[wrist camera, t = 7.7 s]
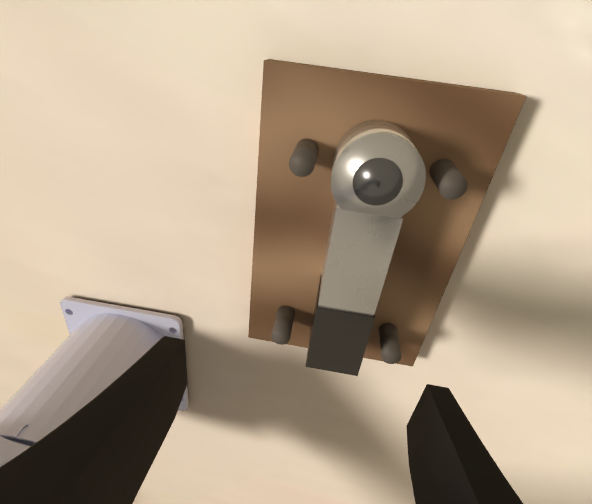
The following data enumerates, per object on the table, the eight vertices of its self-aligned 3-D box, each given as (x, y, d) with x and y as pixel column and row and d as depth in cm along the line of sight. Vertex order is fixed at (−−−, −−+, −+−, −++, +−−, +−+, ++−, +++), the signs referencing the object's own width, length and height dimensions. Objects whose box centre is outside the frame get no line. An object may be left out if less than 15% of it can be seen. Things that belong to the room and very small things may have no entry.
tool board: (410, 353, 22) (418, 395, 20) (252, 325, 23) (240, 362, 20) (515, 92, 14) (552, 104, 12) (268, 59, 15) (252, 64, 12)
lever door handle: (362, 339, 21) (363, 377, 18) (304, 329, 21) (299, 365, 18) (425, 125, 14) (439, 143, 12) (341, 113, 14) (339, 128, 12)
